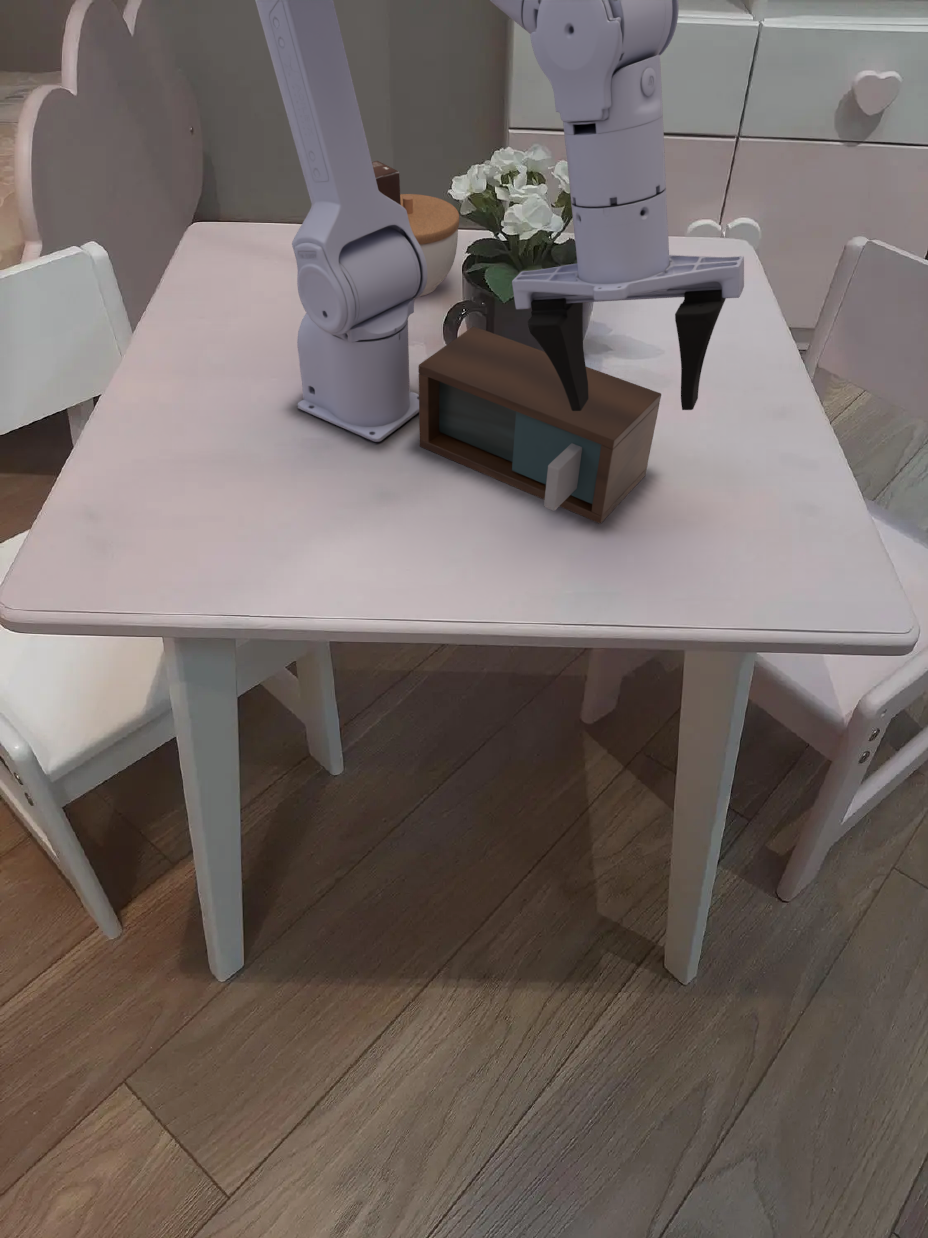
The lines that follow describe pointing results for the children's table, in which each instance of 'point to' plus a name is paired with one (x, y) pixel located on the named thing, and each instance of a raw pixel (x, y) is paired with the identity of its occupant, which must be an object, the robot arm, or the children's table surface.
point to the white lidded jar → (433, 234)
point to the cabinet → (531, 415)
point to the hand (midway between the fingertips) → (633, 404)
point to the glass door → (555, 460)
